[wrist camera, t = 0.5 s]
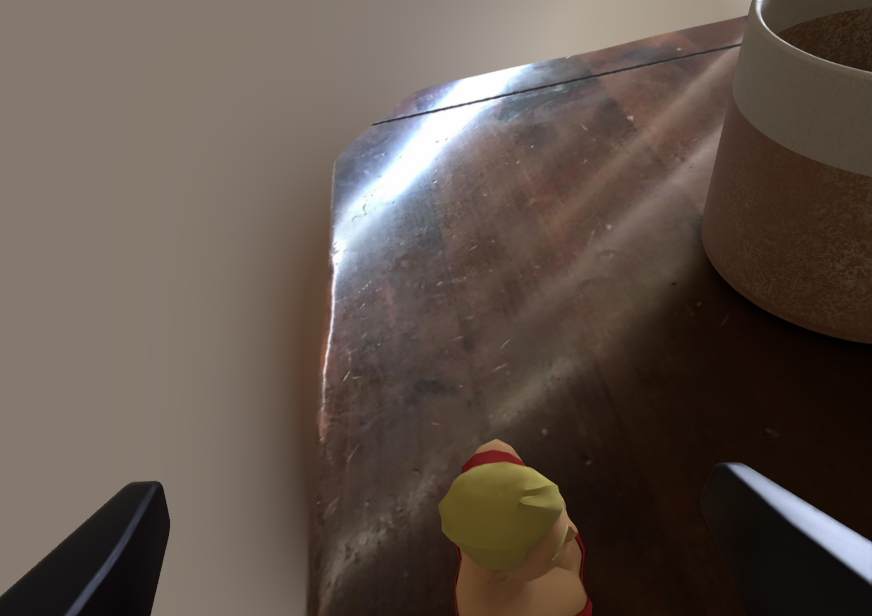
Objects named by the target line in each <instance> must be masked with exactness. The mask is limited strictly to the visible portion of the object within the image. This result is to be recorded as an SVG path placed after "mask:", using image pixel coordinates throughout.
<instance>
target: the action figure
mask: <svg viewBox="0 0 872 616" xmlns="http://www.w3.org/2000/svg"><path fill="white" fill-rule="evenodd" d="M438 508H439V513H440V516H441V519H442V532H443V533H444V534H445V535H446V536H447V537H448V538H449V539H450V540H451V541H452V542H454V543H455V544H456V553H457V556H458V560H459V566H458V570H457V573H456V576H455V593H454V600H455V609H456V616H591V614H592V603H591V601H590V599H589V597H588V595H587V593H586V591H585V588H584V585H583V564H584V556H585V548H584V546H583V543H582V541H581V539H580V536H579V533H578V530H577V528H576V527H575V525H574V524H573V523H572V522H571V521H570V519H569V517H568V515H567V512H566V505H565V502H564V500H563V498H562V496H561V495H560V493H559V490H558V486H557V485H556V484H554V483H552V482H551V481H549V480H548V479H547V478H545V477H544V476H542V475H541V474H540V473H538V472H537V471H535V470H534V469H532V468H529V467H526V466H525V464H524V462H523V461H522V460H521V459H520V457H519V456H518V455H517V453H516V452H515V451H514V449H513V448H512V447H511V446H510V445H508V444H506V443H504V442H502V441H500V440H498V439H495V440H493V441H491V442H489V443H486V444H484V445H482V446H480V447H479V448H478V449H477V451H476V452H475V454H474V455H473V457H472V458H471V459H470V460H469V461H468V462H467V463H466V464H465V465H464V466H463V467H462V474H461V475H460V476H459V477H457V478H456V479H455V480H454V481H453V483H452V486H451V488H450V490H449V492H448V493H447V494H446V496H445V497H444V498H443V499H442V501H441V502H440V503H439V504H438Z"/></svg>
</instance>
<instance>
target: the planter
mask: <svg viewBox="0 0 872 616" xmlns="http://www.w3.org/2000/svg"><path fill="white" fill-rule="evenodd" d="M701 235H702V241H703V245H704V248H705V251H706V253H707V255H708V257H709V259H710V261H711V263H712V264H713V266H714V267H715V269H716V270H717V271H718V273H719V274H720V275H721V276H722V277H723V279H724V280H725V281H726V282H727V283H728V284H729V285H730V286H731V287H733V288H734V289H735V290H736V291H737V292H738V293H740V294H741V295H742V296H744V297H745V298H746V299H748V300H749V301H751V302H752V303H754V304H755V305H757V306H758V307H760V308H762V309H764V310H765V311H767V312H769V313H771V314H773V315H775V316H777V317H779V318H781V319H783V320H785V321H788V322H790V323H792V324H795V325H797V326H800V327H803V328H805V329H808V330H811V331H814V332H817V333H821V334H824V335H828V336H831V337H835V338H840V339H844V340H849V341H854V342H860V343H866V344H872V0H752V2H751V6H750V9H749V13H748V18H747V22H746V27H745V31H744V35H743V40H742V44H741V49H740V53H739V58H738V62H737V66H736V71H735V75H734V80H733V84H732V89H731V93H730V98H729V102H728V107H727V111H726V115H725V120H724V124H723V129H722V133H721V138H720V142H719V147H718V151H717V156H716V160H715V165H714V169H713V173H712V178H711V182H710V187H709V191H708V196H707V200H706V205H705V209H704V214H703V218H702V224H701Z"/></svg>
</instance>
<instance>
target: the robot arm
mask: <svg viewBox="0 0 872 616" xmlns="http://www.w3.org/2000/svg"><path fill="white" fill-rule="evenodd" d="M700 505H701V510H702V513H703V515H704V517H705V520H706V522H707V524H708V527H709V529H710V532H711V534H712V536H713V539H714V541H715V544H716V546H717V548H718V551H719V553H720V555H721V558H722V560H723V563H724V565H725V567H726V570H727V572H728V575H729V577H730V579H731V582H732V584H733V586H734V588H735V591H736V593H737V595H738V597H739V599H740V601H741V603H742V605H743V607H744V609H745V611H746V613H747V615H748V616H872V542H871V541H870V540H868V539H866V538H865V537H863V536H861V535H860V534H858V533H857V532H855V531H853V530H852V529H850V528H848V527H847V526H845V525H843V524H842V523H840V522H838V521H837V520H835V519H833V518H832V517H830V516H829V515H827V514H825V513H824V512H822V511H820V510H819V509H817V508H815V507H814V506H812V505H810V504H809V503H807V502H806V501H804V500H802V499H801V498H799V497H797V496H796V495H794V494H792V493H791V492H789V491H787V490H786V489H784V488H782V487H781V486H779V485H778V484H776V483H774V482H773V481H771V480H769V479H768V478H766V477H764V476H763V475H761V474H759V473H758V472H756V471H755V470H753V469H751V468H750V467H748V466H746V465H744V464H742V463H737V462H736V463H719V464H717V465H716V466H714V468H713V470H712V472H711V474H710V476H709V478H708V481H707V483H706V485H705V487H704V489H703V492H702V494H701V497H700ZM169 531H170V519H169V513H168V508H167V504H166V499H165V494H164V490H163V486H162V485H161V483H160V482H156V481H146V482H132V483H130V484H128V485H126V486H125V487H124V488H122V489H121V490H120V491H119V492H118V493H117V494H116V495H115V496H114V497H112V498H111V499H110V500H109V501H108V502H107V503H105V504H104V505H103V506H102V507H101V508H100V509H99V510H98V511H97V512H95V513H94V514H93V515H92V516H91V517H90V518H89V519H87V520H86V521H85V522H84V523H83V524H82V525H81V526H80V527H79V528H77V529H76V530H75V531H74V532H73V533H72V534H70V535H69V536H68V537H67V538H66V539H65V540H64V541H63V542H61V543H60V544H59V545H58V546H57V547H56V548H55V549H54V550H52V552H50V553H49V554H48V555H47V556H46V557H45V558H43V559H42V560H41V561H40V562H39V563H38V564H37V565H36V566H35V567H34V568H32V569H31V570H30V571H29V572H28V573H27V574H25V575H24V576H23V577H22V578H21V579H20V580H19V581H17V582H16V583H15V584H14V585H13V586H12V587H11V588H10V589H8V590H7V591H6V592H5V593H4V594H3V595H2V596H1V597H0V616H150V615H151V611H152V606H153V602H154V598H155V593H156V589H157V584H158V580H159V576H160V571H161V567H162V563H163V559H164V554H165V550H166V546H167V541H168V537H169Z"/></svg>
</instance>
